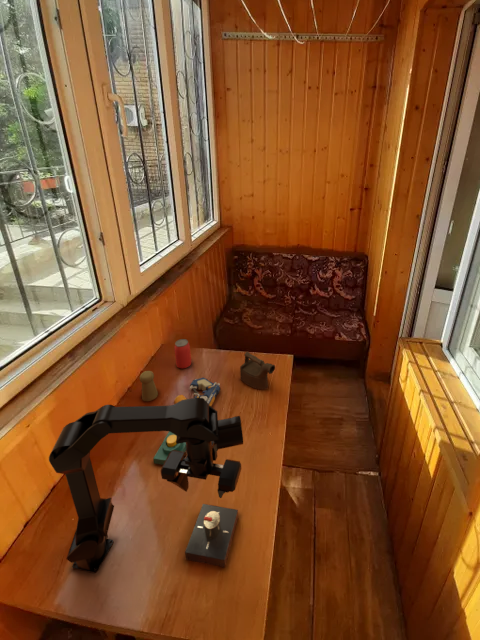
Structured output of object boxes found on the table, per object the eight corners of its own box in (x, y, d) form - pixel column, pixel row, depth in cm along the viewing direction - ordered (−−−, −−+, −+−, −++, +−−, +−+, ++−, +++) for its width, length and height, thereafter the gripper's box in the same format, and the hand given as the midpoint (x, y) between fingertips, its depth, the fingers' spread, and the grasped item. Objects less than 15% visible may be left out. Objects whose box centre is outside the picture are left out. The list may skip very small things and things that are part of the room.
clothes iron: (264, 398, 125) (264, 371, 121) (239, 378, 135) (238, 353, 131) (278, 387, 131) (278, 361, 126) (252, 369, 141) (252, 344, 136)
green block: (177, 467, 98) (176, 458, 97) (154, 463, 99) (152, 454, 98) (191, 439, 107) (190, 430, 106) (169, 436, 108) (168, 427, 107)
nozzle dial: (222, 522, 81) (222, 511, 80) (217, 540, 78) (216, 529, 76) (208, 519, 82) (207, 508, 80) (202, 537, 78) (201, 526, 77)
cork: (138, 399, 124) (134, 377, 120) (148, 388, 129) (145, 366, 125) (151, 402, 122) (147, 380, 118) (161, 391, 127) (157, 370, 124)
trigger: (174, 448, 100) (173, 444, 100) (165, 446, 101) (164, 442, 100) (179, 439, 103) (178, 435, 103) (170, 437, 104) (169, 434, 103)
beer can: (175, 361, 145) (173, 340, 141) (190, 358, 148) (188, 336, 143) (177, 370, 139) (174, 348, 135) (192, 366, 142) (190, 344, 138)
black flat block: (225, 567, 75) (224, 559, 74) (186, 559, 76) (184, 551, 75) (238, 516, 85) (237, 509, 84) (203, 510, 87) (202, 503, 85)
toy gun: (165, 420, 114) (204, 426, 112) (164, 411, 113) (203, 417, 111) (190, 381, 134) (223, 386, 132) (190, 373, 132) (223, 378, 130)
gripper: (246, 425, 80) (248, 468, 85) (179, 415, 82) (184, 457, 88) (232, 467, 69) (235, 513, 75) (155, 453, 72) (163, 498, 77)
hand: (204, 492), depth 79 cm, fingers open, 9 cm apart
